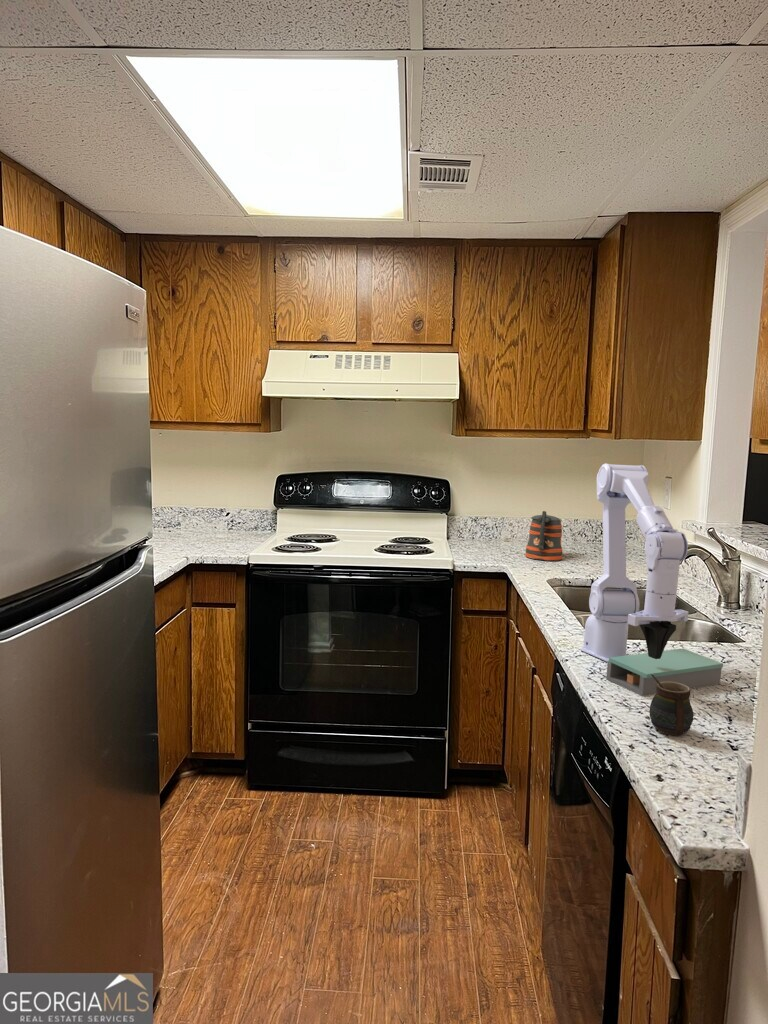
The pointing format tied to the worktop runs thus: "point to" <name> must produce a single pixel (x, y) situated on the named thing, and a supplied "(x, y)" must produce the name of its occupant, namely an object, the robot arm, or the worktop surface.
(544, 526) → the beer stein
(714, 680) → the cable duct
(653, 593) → the robot arm
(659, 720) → the mate gourd
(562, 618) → the worktop surface
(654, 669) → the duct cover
